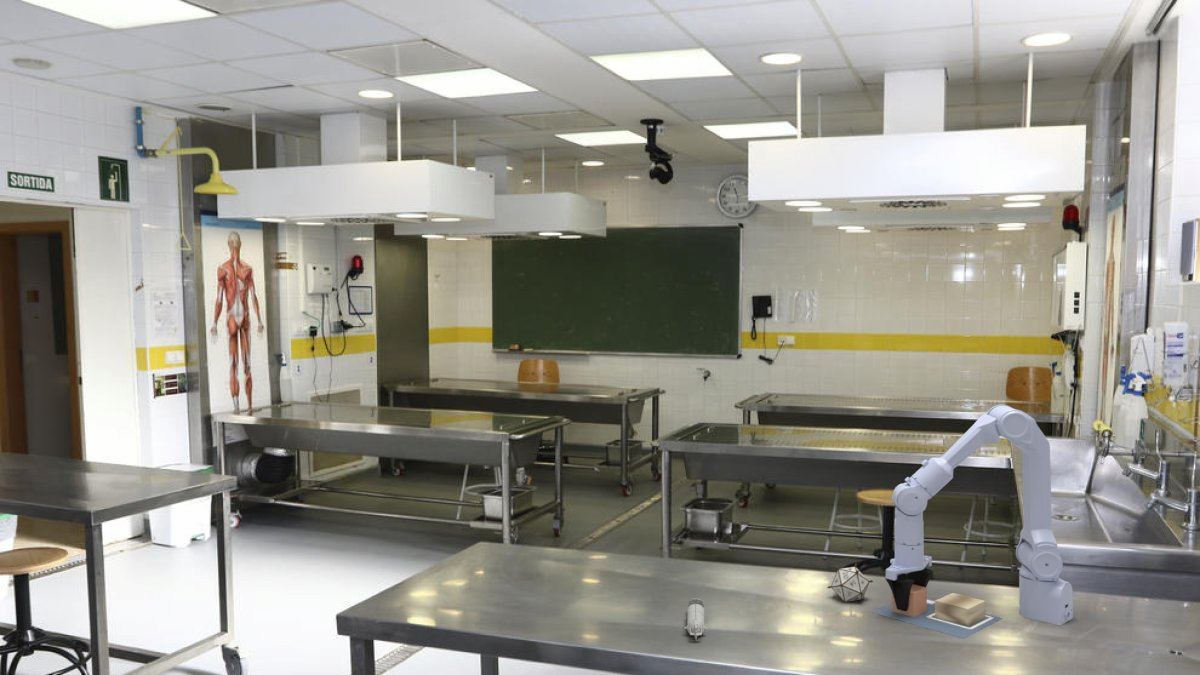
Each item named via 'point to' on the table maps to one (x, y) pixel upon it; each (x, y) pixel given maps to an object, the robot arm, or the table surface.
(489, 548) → the table surface
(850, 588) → the game die
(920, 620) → the board
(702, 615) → the torpedo
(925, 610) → the terracotta cube
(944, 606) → the beech block
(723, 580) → the table surface
